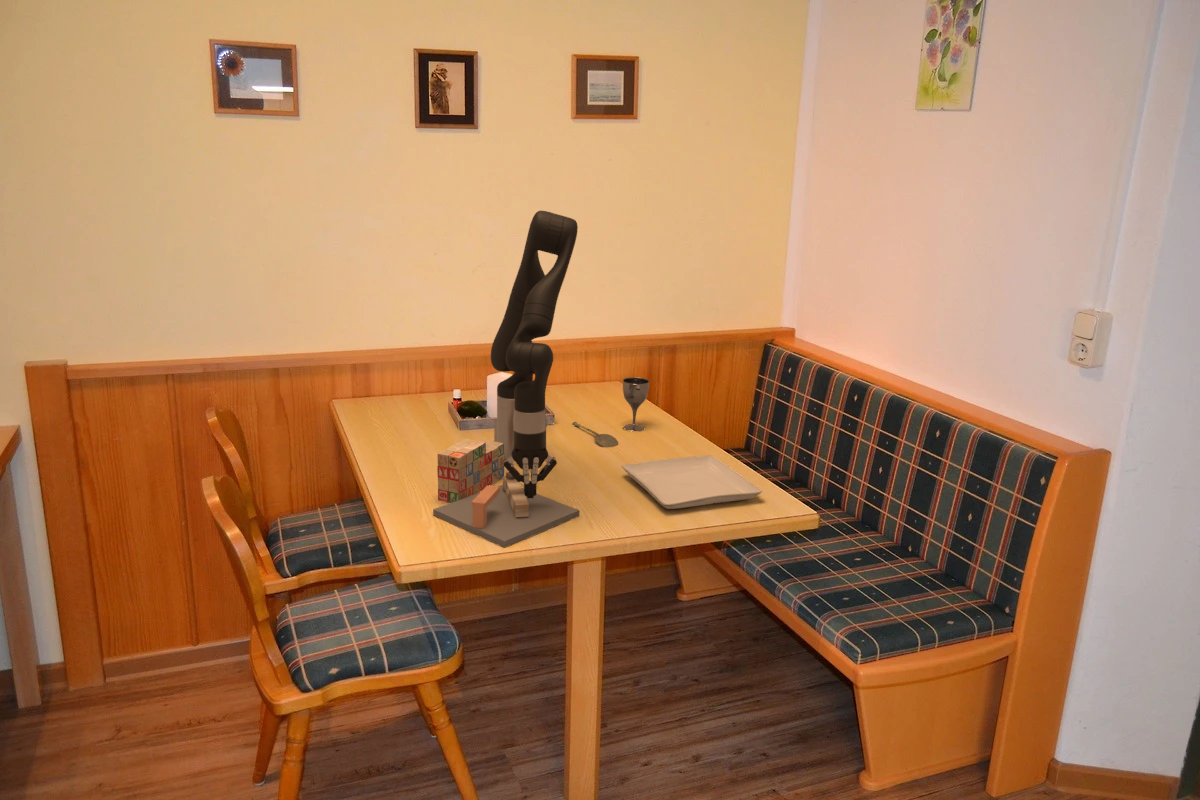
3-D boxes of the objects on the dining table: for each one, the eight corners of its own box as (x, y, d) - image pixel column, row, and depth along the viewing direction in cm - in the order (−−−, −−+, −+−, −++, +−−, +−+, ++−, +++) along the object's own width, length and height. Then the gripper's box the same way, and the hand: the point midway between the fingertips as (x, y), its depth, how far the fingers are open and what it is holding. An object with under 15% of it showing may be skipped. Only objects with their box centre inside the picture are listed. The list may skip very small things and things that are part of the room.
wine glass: (651, 427, 283) (654, 380, 279) (638, 433, 277) (640, 385, 272) (629, 422, 287) (631, 375, 283) (615, 428, 281) (617, 380, 277)
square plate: (619, 477, 243) (619, 463, 242) (711, 466, 253) (712, 453, 252) (663, 517, 219) (664, 502, 218) (763, 504, 229) (764, 489, 228)
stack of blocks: (483, 472, 242) (483, 428, 238) (504, 477, 240) (505, 432, 236) (437, 500, 223) (436, 452, 220) (459, 505, 221) (459, 457, 217)
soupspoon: (602, 452, 263) (621, 450, 267) (603, 441, 262) (623, 439, 266) (565, 427, 281) (583, 425, 284) (566, 416, 280) (584, 415, 283)
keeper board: (432, 515, 214) (432, 485, 212) (508, 488, 232) (508, 460, 230) (504, 547, 199) (504, 515, 197) (579, 516, 217) (580, 486, 215)
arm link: (501, 486, 228) (501, 471, 227) (517, 485, 229) (518, 470, 228) (513, 517, 210) (513, 501, 209) (530, 516, 211) (531, 500, 210)
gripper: (556, 421, 217) (556, 489, 222) (500, 423, 215) (500, 492, 220) (560, 431, 210) (560, 502, 215) (502, 433, 208) (502, 504, 213)
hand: (530, 497), depth 218 cm, fingers closed
